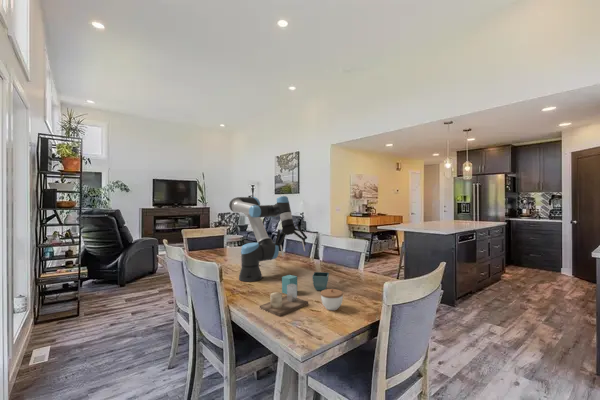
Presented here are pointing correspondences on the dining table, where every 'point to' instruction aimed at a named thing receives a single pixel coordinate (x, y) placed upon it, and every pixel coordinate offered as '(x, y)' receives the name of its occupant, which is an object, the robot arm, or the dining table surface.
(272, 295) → the cream smooth rounded part
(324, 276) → the flower pot
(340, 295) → the lidded jar
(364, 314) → the dining table surface
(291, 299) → the square post
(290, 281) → the teal rectangular block
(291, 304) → the base board
